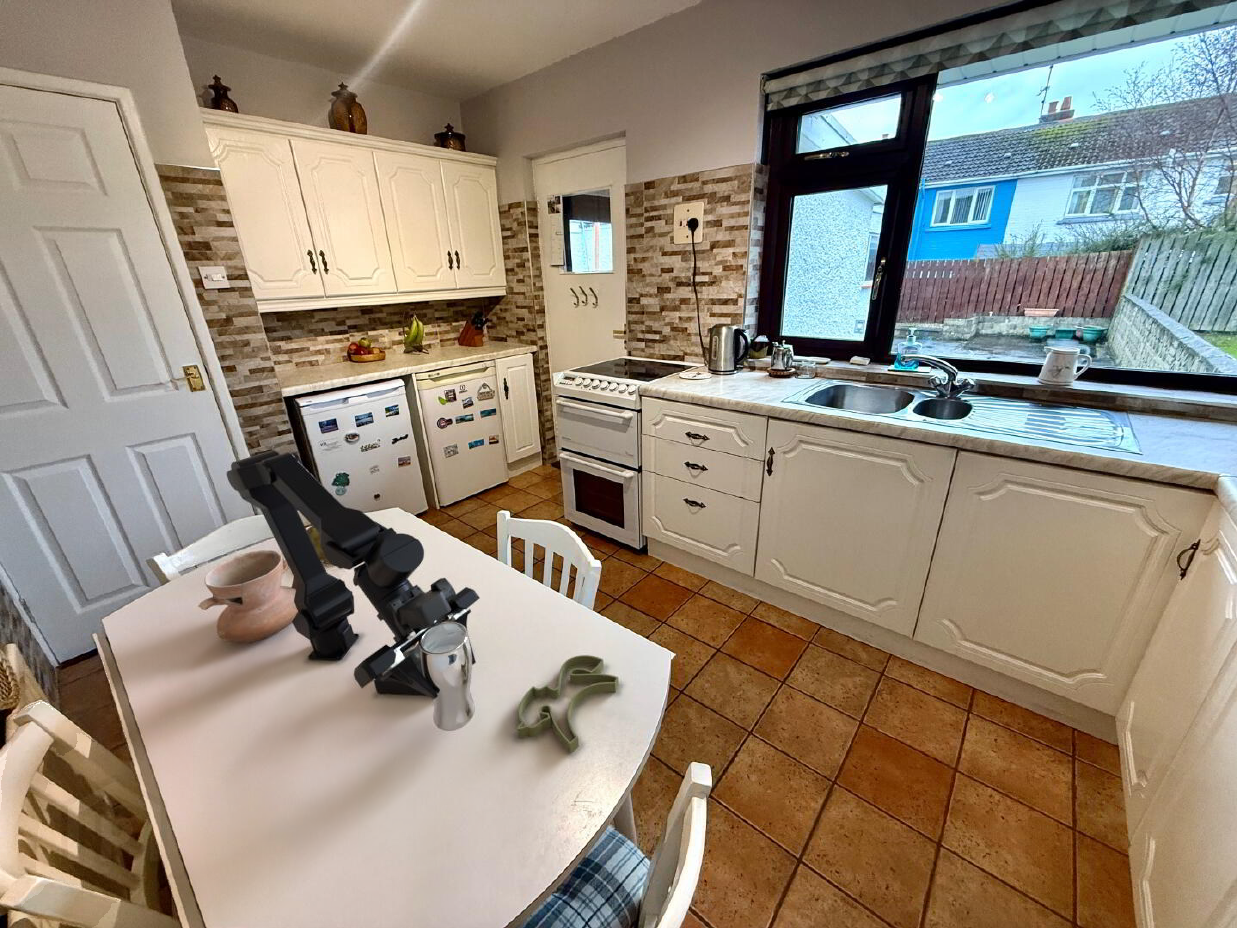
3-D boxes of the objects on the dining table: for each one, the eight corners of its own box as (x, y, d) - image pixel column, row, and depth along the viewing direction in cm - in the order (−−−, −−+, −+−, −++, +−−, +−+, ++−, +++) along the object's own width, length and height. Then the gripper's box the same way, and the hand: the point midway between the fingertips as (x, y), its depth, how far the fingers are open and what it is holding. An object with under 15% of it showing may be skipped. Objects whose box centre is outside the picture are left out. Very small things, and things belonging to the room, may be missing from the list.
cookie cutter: (565, 765, 70) (564, 755, 69) (503, 728, 76) (502, 719, 75) (626, 678, 84) (626, 669, 83) (570, 653, 90) (570, 644, 89)
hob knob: (393, 667, 84) (388, 650, 82) (404, 650, 88) (400, 633, 86) (415, 668, 84) (411, 651, 82) (425, 650, 87) (421, 634, 86)
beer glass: (421, 730, 71) (406, 651, 66) (444, 692, 78) (433, 617, 72) (465, 737, 70) (454, 659, 65) (485, 698, 77) (477, 623, 71)
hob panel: (376, 694, 82) (372, 680, 81) (404, 650, 92) (401, 637, 90) (445, 696, 82) (442, 683, 80) (466, 652, 91) (464, 639, 89)
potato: (323, 573, 115) (314, 545, 112) (304, 554, 123) (295, 527, 120) (359, 558, 121) (351, 530, 117) (339, 540, 129) (331, 514, 125)
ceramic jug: (239, 665, 89) (211, 603, 84) (201, 639, 96) (173, 580, 90) (332, 607, 103) (314, 551, 98) (294, 588, 110) (275, 534, 104)
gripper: (345, 614, 59) (420, 718, 58) (462, 542, 74) (524, 624, 73) (325, 640, 66) (392, 733, 65) (436, 569, 81) (492, 645, 80)
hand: (455, 680), depth 71 cm, fingers closed on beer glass, 7 cm apart
